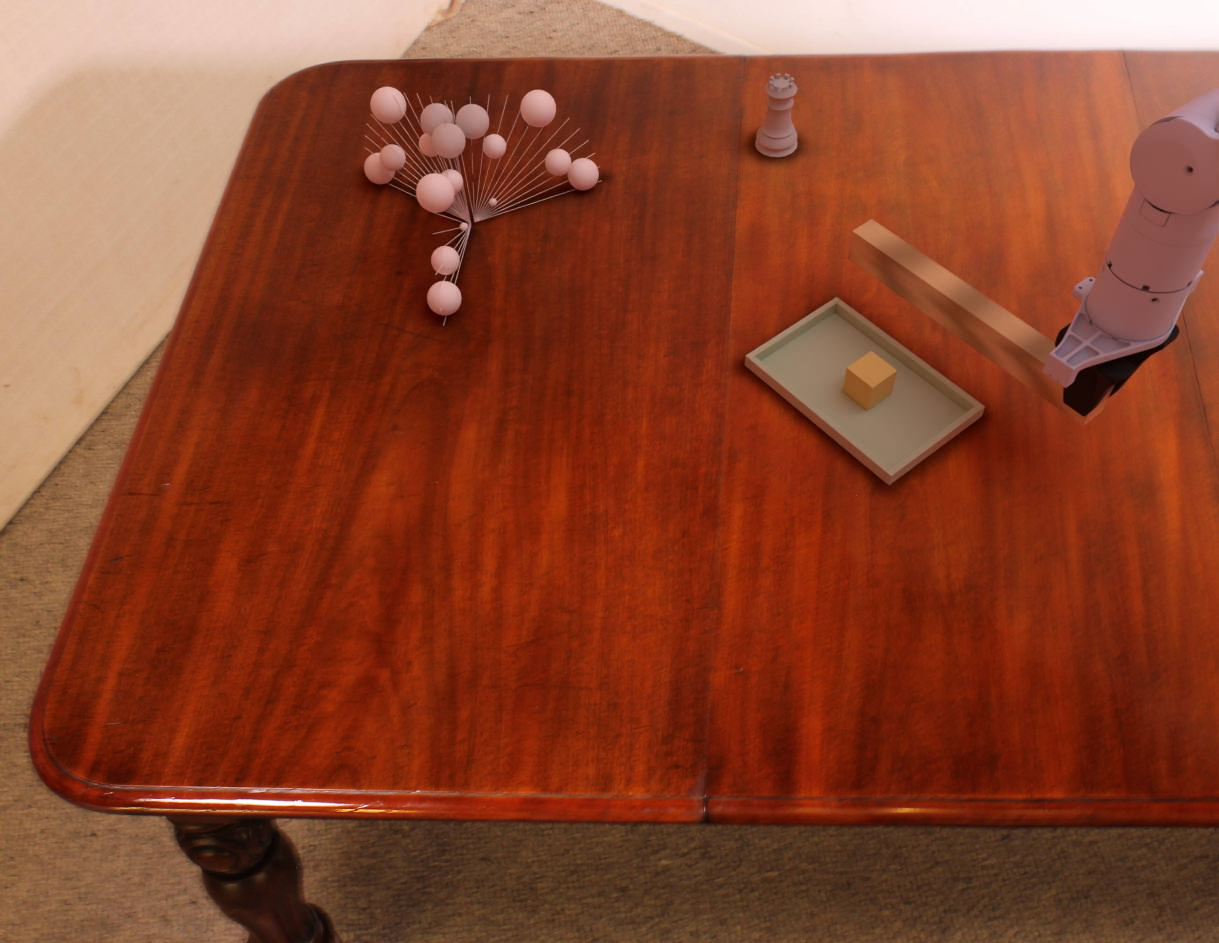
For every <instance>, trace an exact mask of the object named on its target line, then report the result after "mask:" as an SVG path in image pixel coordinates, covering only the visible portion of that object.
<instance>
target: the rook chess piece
mask: <svg viewBox="0 0 1219 943" xmlns="http://www.w3.org/2000/svg"><path fill="white" fill-rule="evenodd" d="M768 79H769V80H768V83H766V84H765V86H764V91H765V94H766V95H767V96H768V97H767V98H766V100H765V104H766V106H767V110H766V115H765V119H764V121H763V122H762V123H761V126H760V127H759V128H758V129H757V131H756V135H755V138H756V139H755V143H754V146H755V148H756V150H757V151H758V152H759V153H760V154H762V155H763V156H766V157H768V158H776V159H779V158H786V157H788V156H789V155H791V154H792V153H794V152H795V150H796V149H797V148H798V132H797V130H796V128H795V125H794V123H793V121H792V107H793V105H795V104H794V99H793V97H794V96H795V95H796V94H797V92H798V86H797V85H796V83H795V78H794V76H791V77H790V74H788V73H784V76H783V77H782V74H781V73H780V72H779V73H775V76H773V75H771V76H770V77H769V78H768Z"/></svg>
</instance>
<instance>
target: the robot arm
mask: <svg viewBox="0 0 1219 943" xmlns="http://www.w3.org/2000/svg"><path fill="white" fill-rule="evenodd" d="M1129 170H1130V174H1131V178H1132V180H1133V183H1134V186H1133V188H1132V191H1131V192H1130V195H1129V197H1128V200H1127V202H1126V204H1125V207H1124V209H1123V212H1122V214H1121V216H1120V219H1119V220H1118V223H1117V226H1116V228H1115V231H1114V233H1113V235H1112V237H1111V240H1110V242H1109V245H1108V247H1107V250H1106V253H1105V254H1104V257H1103V259H1102V262H1101V264H1100V267H1099V270H1098V271H1097V274H1096V277H1093V276H1087V277H1085V278H1083V279H1082V280H1081V281H1080V282H1078V283H1077V284H1075V285H1074V287H1073V289H1072V292H1071V296H1073V297H1074V298H1075V299H1076V300H1078V301H1079V302H1080V305H1079V307H1078V309H1077V310H1076V313H1075V315H1074V316H1073V319H1072V320H1071V322H1070V323H1068V324H1067V325H1066V326H1064V327H1063V328H1061V329H1060V330H1059V331H1058V333H1057V335H1056V338H1055V341H1054V343H1055V347H1056V348H1055V349H1054V350H1053V351H1052V352H1050V354H1049V356H1048V359H1047V361H1046V363H1045V366H1044V368H1043V371H1042V372H1043V373H1045V374H1046V375H1047V376H1049V377H1050V378H1051V379H1053V380H1054V381H1056V382H1057V383H1059V384H1060V385H1062V386H1063V403H1065V404H1066V405H1067V406H1069V407H1070V408H1072V409H1073V410H1074V411H1076V412H1077V413H1079V414H1080V415H1082V416H1084V417H1085V416H1086V415H1088V414H1089V413H1090V412H1091V411H1093V410H1094V409H1095V408H1096V407H1097V406H1098V405H1099V403H1100V402H1101V401H1102V399H1103V398H1104V396H1105V395H1106V394H1107V392H1108V391H1109V390H1110V388H1111V387H1112V386H1113V385H1115V386H1114V388H1113V390H1112V392H1111V394H1110V396H1109V398H1111V397H1112V396H1113V395H1115V394H1116V393H1117V392H1118V391H1120V389H1121V388H1123V386H1125V384H1127V382H1128V381H1129V379H1131V377H1132V376H1133V375H1134V374H1135V372H1136V371H1137V370H1138V369H1139V368H1140V367H1141V366H1142V365H1143V364H1144V363H1145V362H1147V360H1148V359H1149V358H1150V357H1151V356H1152V355H1155V354H1157V353H1158V352H1161V351H1162V350H1164V349H1165V348H1166V347H1168V346H1169V345H1170V344H1172V343H1173V342H1174V341H1176V339H1178V336H1179V335H1180V328H1179V326H1178V325H1177V321H1178V318H1179V317H1180V314H1181V312H1182V310H1183V308H1184V305H1185V303H1186V300H1187V299H1188V297H1189V296H1190V295H1191V294H1192V293H1193V292H1194V291H1195V290H1196V288H1197V286H1198V284H1199V282H1200V280H1201V279H1202V277H1203V274H1204V272H1205V271H1203V270H1202V269H1201V268H1202V267H1203V265H1204V263H1205V261H1206V259H1207V257H1208V256H1209V253H1210V251H1211V249H1212V247H1213V246H1214V244H1215V241H1217V238H1218V236H1219V86H1218V87H1214V88H1212V89H1209V90H1207V91H1205V92H1204V93H1202V94H1200V95H1198V96H1196V97H1195V98H1192V100H1189V101H1188V102H1186V103H1185V104H1183V105H1181V106H1179V107H1178V108H1176V109H1174V110H1173V111H1170V112H1169V113H1167V114H1166V115H1165V116H1162V117H1160V118H1159V119H1158V120H1156V121H1154V122H1153V123H1152V124H1150V125H1149V126H1148V127H1147V128H1145V129H1144V130H1143V131H1141V133H1140V134H1139V135H1138V136H1137V137H1136V139H1135V140H1134V142H1133V145H1132V147H1131V150H1130V155H1129Z"/></svg>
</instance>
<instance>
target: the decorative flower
mask: <svg viewBox="0 0 1219 943" xmlns="http://www.w3.org/2000/svg"><path fill="white" fill-rule="evenodd" d="M403 94H404V95H403ZM416 95H417V98H418V101H419V103H420V106H421V108H422V112H421V114H420V121H419V118H418V117H417V114H416V113H415V111H414V109H413V107H412V105H411V103H410V101H409V99H408V97H407V94H406V93H405V92H403V93H402V92H401V91H399V89H397V88H395V87H392V86H382V87H380V88H378V89H377V90H375V91H374V92H373V94H372V96H371V98H370V100H369V102H370V103H369V104H370V105H369V106H370V111H371V114H370V116H371V117H372V118H373V119H374V120H375V121H376V122H377V123H378V124H379V126H381V128H382V129H383V130H384V131H385V132H386V133H387V134H388V135H389V136H390V137H392V135H391V134H390V133H389V132H388V131H387V130H386V129H385V128H384V126H382V124H381V123H383V124H388V125H390V126H392V128H393V129H394V130H395V131H396V133H397V134H398V136H400V137H401V139H402V140H403V141H404V143H405V144H406V145H407V146H408V148H409V149H410V150H411V151H412V153H413V154H414V155H415V156H416V158H417V159H418V161H420V163H421V164H422V165H423V166H424V168H425V169H426V170H427V171H428V173H427V174H426V173H424V176H423V175H422V174H420V173H419V172H418V171H417V170H416V169H415V168H414V167H413V166H412V165H411V164H410V163H408V162H407V161H406V160H407V157H406V155H407V156H408V157H409V158H410V160H413V158H412V157H411V155H409V154H408V153H407V151H405V150H404V149H403V147H402V146H401V145H400V144H399V143H398V142H397V140H396V139H395V138H392V140H394V142H395V143H396V144H393V143H392V144H389V143H388V142H387V141H386V140H385V139H384V138H382V141H383V142H384V143H386V145H385V146H383V147H382V148H381V147H380V145H378V144H376V143H375V141H373V140H372V139H370V138H369V137H368V136H367V135H366V134H364V136H365V137H366V138H367V139H368V140H370V141H371V142H372V143H373V144H374V145H375V146H377V147H378V148H379V149H380V152H372V151H371V150H370V149H368V148H366V147H364V149H365V150H367V151H368V152H370V153H371V154H369V156H368V157H367V158H366V159H365V161H364V163H363V170H364V171H363V172H364V174H365V176H366V178H367V179H368V180H369V181H370V182H371V183H373V184H376V185H385V184H388V185H390V186H392V187H394V188H396V189H398V190H400V191H403V192H405V193H406V194H409V195H411V196H412V197H415V198H416V200H417V202H418V204H419V205H420V207H421V208H423V209H424V210H426V211H427V212H430V213H432V214H435V215H439V216H441V217H444V218H447V219H451V220H453V221H456V222H459V223H460V224H459V227H456V228H452V229H449V230H447V229H446V230H442V231H438V232H433V233H432V235H436V234H440V233H445V232H449V231H453V230H458V229H460V231H461V232H460V233H458V234H457V235H456V236H455V237H453V239H451V240H450V241H449V242H447V243H446V244H445V245H442V246H438V247H436V249H434V251H433V252H432V254H431V256H430V264H431V266H432V269H433V270H434V271H435V272H436V273H435V274H434V275H435V276H437V274H440V275H442V276H445V277H444V279H443V280H440V281H437V282H435V283H433V284H432V285H431V286H430V288H428V291H427V295H426V301H427V305H428V307H429V308H430V309H431V311H432V312H434V313H435V314H437V315H438V316H439V315H440V316H445V317H444V321H443V324H442V326H445V323H446V320H447V316H451V315H452V314H453V315H454V313H456V312H457V311H458V310H459V309H460V306H461V304H462V293H461V290H460V289H459V287H458V286H457V285H456V283H457V279H458V275H459V272H460V268H461V265H462V260H463V257H464V253H465V250H466V247H467V243H468V240H469V235H470V232H471V228H472V221H471V216H470V212H469V207H468V202H467V196H466V192H465V186H464V179H463V178H464V177H463V176H462V172H461V166H460V161H459V156H460V155H461V160H462V165H463V171H464V174H465V175H464V176H465V180H466V186H467V190H468V196H469V197H471V194H470V189H469V184H468V178H467V174H466V169H465V163H464V159H463V152H464V150H465V148H466V142H467V141H466V139H469V140H470V143H471V144H473V140H478V139H479V138H482V137H483V142H482V151H481V157H484V156H483V154H485V156H487V157H488V158H489V164H488V167H487V172H486V175H485V178H484V179H485V180H484V183H483V188H482V191H481V194H480V199H479V202H475V189H474V183H472V196H473V198H472V199H473V201H472V200H471V198H469V202H470V205H471V206H470V207H471V212H472V216H473V222H474V223H477V222H480V221H483V220H486V219H489V218H492V217H496V216H499V215H502V214H504V213H508V212H511V211H515V210H517V209H520V208H524V207H526V206H529V205H533V204H535V203H538V202H542V201H545V200H548V199H551V198H554V197H557V196H561V195H563V194H566V193H570V192H572V191H576V190H579V191H587V190H590V189H592V188H593V187H595V186H596V184H598V183H600V182H601V180H599V176H600V175H599V168H600V166H597V164H596V163H595V162H594V161H592V160H591V159H589V158H590V157H592V156H593V155H595V154H596V152H594V153H592V154H591V155H588V156H587V157H580V158H576V159H575V160H573V161H572V158H571V156H570V155H571V154H572V153H573V152H575V151H577V150H578V149H579V148H581V147H582V146H584V145H585V144H587V143H588V142H589V141H590V140H589V139H588V140H586V141H585V142H583V144H581V145H580V146H578V147H577V148H575V149H574V150H573V151H571V152H567V151H566V150H564V149H562V148H560V147H561V146H562V145H563V144H565V143H566V142H567V141H568V140H569V139H571V137H572V136H574V135H575V134H576V133H577V132H578V131H579V130H580V129H581V128H580V127H579V128H578V129H577V130H576V131H574V133H573V134H572V135H570V136H569V137H568V138H567V139H566V140H565V141H563V143H561V144H560V145H559V146H558V147H556V148H554V149H552V150H550V151H548V153H547V154H546V155H545V158H544V160H542V161H541V162H540V163H539V164H538V165H537V166H536V167H534V168H533V169H532V170H531V171H530V172H529V173H527V175H525V176H524V177H523V178H522V179H520V180H519V182H518V183H516V184H515V185H514V186H513V187H512V188H511V189H509V191H507V193H505V194H504V195H503V196H502V197H500V196H501V195H502V194H503V193H504V191H505V190H506V189H507V187H504V189H503V190H502V191H501V192H500V193H499V194H498V195H497V197H500V199H498V201H497V198H496V197H495V195H496V194H497V192H498V191H499V189H500V188H502V185H503V184H504V183H505V181H506V180H507V179H508V177H509V176H510V174H511V173H512V172H513V170H514V169H515V167H516V166H517V165H518V163H520V161H521V160H522V158H523V156H524V155H525V153H526V152H527V151H528V150H529V148H530V147H531V146H532V144H533V143H534V141H535V140H536V139H537V137H538V136H539V134H540V133H541V132H542V130H543V129H544V127H547V126H548V125H550V124H551V123H552V122H553V120H554V119H555V116H556V114H557V104H556V101H555V98H553V96H552V95H551V93H549V92H547V91H546V90H543V89H534V90H530V91H528V92H527V93H526V94H525V95H524V96H523V98H522V100H521V101H520V107H519V111H518V113H517V115H516V118H515V121H514V123H513V126H512V128H511V130H510V132H509V136H508V138H507V141H506V140H505V138H504V137H502V136H501V135H499V131H500V128H501V124H502V120H503V117H504V116H503V115H504V112H505V108H506V104H507V102H508V101H507V100H508V97H509V94H507V95H506V98H505V103H504V107H503V111H502V114H501V117H500V118H501V119H500V122H499V126H498V129H497V133H491V134H489V135H487V136H486V133H487V131H488V130H489V127H490V117H489V112H488V111H489V106H487V108H486V109H484V108H483V107H482V106H480V105H479V104H475V103H472V101H471V100H472V99H471V96H469V104H465V105H464V106H462V107H461V108H460V109H459V110H458V111H457V113H456V116H455V111H454V106H453V101H452V100H450V103H451V108H452V109H450V108H449V105H448V104H447V103H446V101H444V104H443V103H439V102H435V103H433V99H432V96H431V95H429V98H430V102H431V104H428V105H427V106H425V107H423V104H422V102H421V99H420V97H419V95H418V93H417V92H416ZM488 96H490V94H488ZM405 98H406V99H407V101H406V99H405ZM407 102H408V105H409V106H410V108H411V111H412V112H413V114H414V116H415V118H416V120H417V122H418V124H419V126H420V128H421V130H422V132H423V134H422V135H421V136H419V135H418V133H417V132H416V129H415V128H414V127H413V125H412V122H410V120H409V118H408V117H407V115H406V112H407ZM489 103H490V98H488V101H487V105H489ZM451 110H452V111H451ZM520 114H521V117H522V119H523V120H524V122H525V123H527V124H528V125H527V127H526V129H525V131H524V132H523V134H522V135H521V138H520V139H519V142H518V143H517V145H516V147H515V149H514V150H513V152H512V154H511V155H510V157H509V159H508V160H507V163H506V164H505V166H504V168H503V169H502V171H501V173H500V176H499V177H498V179H497V181H496V182H495V184H494V186H493V187H492V190H491V191H490V193H489V195H488V196H487V194H488V191H489V188H490V186H491V183H492V181H493V179H494V176H495V175H496V172H497V169H498V166H499V164H500V161H501V159H502V157H503V156H504V155H505V154H506V151H507V145H508V142H509V141H510V140H509V139H510V137H511V135H512V132H513V129H514V127H515V125H516V123H517V120H518V118H519V116H520ZM404 116H405V118H406V120H407V121H408V123H409V125H410V126H411V128H412V129H413V131H414V133H415V134H416V136H417V138H418V146H417V144H416V143H415V141H414V140H413V139H412V137H411V136H410V134H409V133H408V131H407V130H406V128H405V127H404V125H403V124H402V123H401V120H402V119H403V118H404ZM568 120H570V117H568V118H567V120H565V121H564V123H563V124H561V126H560V127H559V128H558V129H557V131H556V132H554V134H552V136H551V137H550V138H549V139H548V140H547V142H546V143H545V144H544V145H542V147H541V148H540V149H539V150H538V151H537V153H536V154H534V156H533V157H532V158H531V159H530V160H529V161H528V162H527V164H526V165H525V166H523V168H522V169H520V171H519V172H518V173H517V175H515V177H514V178H513V179H512V180H510V182H509V183H508V184H507V186H509V185H510V184H512V183H513V181H514V179H516V178H517V177H518V175H520V173H522V171H523V170H524V169H525V168H526V167H527V166H528V164H530V162H531V161H532V160H533V159H534V158H535V157H536V156H537V155H538V153H540V151H541V150H542V149H543V148H544V147H545V146H546V145H547V143H548V142H549V141H550V140H551V139H552V138H553V137H554V136H555V135H556V134H557V133H558V131H559V130H560V129H561V128H562V127H563V126H564V125H565V124H566V123H567V122H568ZM395 123H399V124H400V126H401V127H402V129H403V130H404V131H405V133H407V135H408V137H409V138H410V140H411V141H412V143H413V144H414V145H415V147H416V148H417V150H418V151H419V152H420V154H421V155H422V157H423V159H424V160H425V161H426V162H427V164H428V166H429V167H430V169H432V172H433V173H432V172H431V171H429V169H428V168H427V167H426V166H425V164H424V163H423V161H421V159H420V158H419V157H418V156H417V154H416V152H414V151H413V149H412V148H411V147H410V146H409V144H408V143H407V141H405V139H404V138H403V136H401V134H400V133H399V131H397V129H396V128H395V127H394V126H393V125H392V124H395ZM366 126H368V127H369V128H370V129H371V130H372V131H374V133H375V134H376V135H377V136H379V133H377V132H376V131H375V130H374V129H373V128H372V127H371V126H370V125H369V124H368V123H366ZM529 126H530V127H533V128H541V129H540V130H539V132H538V133H537V134H536V136H535V137H534V139H533V140H532V141H531V143H530V144H529V146H528V147H527V148H526V149H525V152H523V154H522V155H521V157H520V158H519V159H518V161H517V163H516V164H515V165H514V167H513V168H512V169H511V171H509V173H508V174H507V176H506V178H505V179H504V180H503V182H501V184H500V186H499V187H498V188H497V190H496V191H495V193H494V194H493V195H492V197H491V194H492V193H493V191H494V189H495V188H496V186H497V183H498V182H499V180H500V178H501V176H502V174H504V172H505V169H506V168H507V167H508V166H507V165H508V164H509V163H510V160H511V159H512V157H513V155H514V153H515V151H516V150H517V148H518V146H519V144H520V142H521V141H522V139H523V137H524V136H525V134H526V132H527V130H528V128H529ZM473 155H474V154H471V168H472V170H471V171H472V173H474V161H473V160H474V159H473V158H474V156H473ZM426 157H429V158H430V159H431V161H432V163H433V164H434V166H435V168H436V170H434V168H433V167H432V166H431V165H430V163H429V161H428V160H427V159H426ZM433 157H436V160H437V161H438V163H439V166H440V168H441V169H442V172H440V170H439V168H438V167H437V165H436V163H435V162H434V160H433V159H432V158H433ZM438 157H439V158H438ZM439 159H440V160H439ZM445 159H447V160H448V162H449V166H450V168H448V165H447V163H446V161H445ZM451 159H453V161H454V166H455V169H454V167H453V164H452V161H451ZM492 159H493V160H497V159H499V160H498V163H497V165H496V167H495V170H494V172H493V175H492V178H491V180H490V181H489V184H488V187H487V190H486V192H485V195H484V197H483V193H484V189H485V184H486V181H487V178H488V174H489V169H490V166H491V162H492ZM440 161H441V162H440ZM482 162H483V158H481V160H480V165H482V164H483V163H482ZM406 163H407V165H408V166H409V167H411V168H412V169H413V170H414V171H415V172H416V173H417V174H418V175H419V176H420V177H421V178H419V179H418V178H417V177H416V176H415V175H414V174H412V173H411V172H410V171H409V170H408V169H406V168H405V167H404V166H405V164H406ZM413 163H414V164H416V166H417V167H418V168H419V169H420V170H421V172H424V170H423V169H422V168H421V167H420V166H419V164H418V163H416V161H413ZM441 163H442V164H441ZM543 163H544V166H545V169H546V170H545V171H543V172H542V173H541V174H539V175H538V176H536V177H535V178H533V179H532V180H531V181H529V182H528V183H526V184H525V185H524V186H522V187H521V188H519V189H518V190H517V191H515V192H513V194H511V195H510V196H508V197H506V198H505V199H504V200H503V201H501V202H500V200H502V199H503V198H504V197H505V196H506V195H507V194H509V192H511V191H512V190H513V189H514V188H516V187H517V186H518V184H521V182H523V180H524V179H525V178H527V176H529V175H530V174H531V173H532V172H534V170H536V168H538V167H539V166H540V165H542V164H543ZM401 169H404V170H406V171H407V172H408V174H410V175H412V177H414V178H415V179H416V180H417V181H418V182H417V183H416V182H415V181H413V180H411V179H410V178H409V177H407V176H406V175H405V174H403V173H402V172H400V170H401ZM479 170H480V171H479V174H481V173H482V167H480V169H479ZM396 172H398V173H399V174H401V175H402V176H404V178H406V179H408V180H409V181H411V182H412V183H413V184H415V185H416V189H415V188H414V187H412V186H410V185H408V184H406V183H405V182H404V181H402V180H400V179H398V178H396V177H395V174H396ZM547 172H548V173H549V174H550V175H553V176H552V177H550V178H548V179H546V180H545V181H543V182H542V183H540V184H538V185H536V186H535V187H533V188H531V189H529V190H527V191H526V192H524V193H522V194H521V195H519V196H517V197H515V198H514V199H512V200H510V201H508V202H507V203H505V204H503V205H501V204H502V203H504V202H505V201H507V200H508V199H509V198H511V197H512V196H514V195H515V194H516V193H518V192H519V191H521V190H522V189H523V188H525V187H527V186H528V185H529V184H530V183H532V182H533V181H535V180H536V179H537V178H538V177H539V178H540V176H541V175H543V174H545V173H547ZM566 174H567V180H566V181H564V182H561V183H558V184H556V185H554V186H553V187H550V188H548V189H545V190H543V191H541V192H538V193H537V194H535V195H533V196H529V197H528V198H525V199H523V200H520V201H518V202H516V203H514V204H511V205H509V206H506V205H508V204H509V203H511V202H513V201H515V200H516V199H518V198H520V197H522V196H524V195H525V194H527V193H529V192H531V191H532V190H534V189H535V188H537V187H540V186H541V185H543V184H544V183H546V182H548V181H550V180H551V179H553V178H555V177H562V176H564V175H566ZM393 178H394V179H395V180H398V181H399V182H400V183H402V184H404V185H405V186H407V187H410V188H411V189H412V190H414V191H415V195H414V194H412V193H410V192H407V191H405V190H403V189H402V188H399V187H397V186H395V185H393V184H391V183H390V182H391V181H392V179H393ZM480 180H481V176H479V178H478V183H480ZM568 182H569V184H570V185H571V186H572V187H573V189H571V190H568V191H565V192H561V193H559V194H555V195H553V196H549V197H547V198H543V199H540V200H537V201H534V202H531V203H529V204H524V205H521V206H519V207H516V208H513V209H509V210H506V209H508V208H511V207H512V206H516V205H517V204H520V203H521V202H524V201H527V200H528V199H531V198H532V197H533V198H534V197H535V196H537V195H540V194H542V193H545V192H547V191H548V190H551V189H554V188H555V187H558V186H560V185H563V184H565V183H568ZM477 191H480V184H478V187H477ZM461 192H462V194H461ZM462 195H463V197H462ZM486 196H487V198H486ZM482 197H483V199H482ZM490 197H491V198H490ZM478 198H479V193H477V195H476V200H478ZM485 198H486V201H485ZM481 200H482V202H481ZM488 200H489V201H488ZM484 201H485V202H484ZM472 202H475V209H476V210H474V208H473V204H472ZM487 202H488V203H487ZM498 202H500V203H499V204H498ZM483 203H484V204H483ZM486 203H487V204H486ZM480 204H481V205H480ZM482 205H483V206H482ZM500 205H501V206H500ZM498 206H499V207H498ZM504 206H506V207H505V208H503V209H500V208H502V207H504ZM489 207H491V209H490V208H489ZM499 209H500V210H499ZM497 210H498V211H497ZM503 210H506V211H503ZM502 211H503V212H502ZM442 212H447V213H449V214H450V215H453V216H455V217H457V218H459V219H460V220H459V219H455V218H453V217H452V218H451V217H449V216H446V215H442V214H440V213H442ZM499 212H500V213H499ZM461 219H462V220H464V221H465V222H463V221H461ZM462 233H464V234H463V235H462V237H461V238H460V240H459V241H458V242H457V244H455V246H454V247H451V246H448V245H449V244H450V243H452V242H453V241H454V240H455V239H456V238H458V237H459V236H460V235H461V234H462ZM462 239H463V240H462ZM461 241H462V242H461ZM460 242H461V245H460V246H459V248H458V250H456V248H457V246H458V245H459V244H460ZM462 245H463V246H462ZM461 247H462V248H461ZM460 250H461V252H460V254H459V251H460ZM460 258H461V259H460ZM456 271H457V274H456V277H455V281H454V283H453V282H452V280H453V278H454V275H455V272H456ZM449 275H452V276H451V278H450V281H447V280H446V278H447V276H449Z"/></svg>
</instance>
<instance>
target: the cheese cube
mask: <svg viewBox="0 0 1219 943" xmlns="http://www.w3.org/2000/svg"><path fill="white" fill-rule="evenodd" d="M896 374H897V370H896V369H895V368H893V367H892V366H891V365H889V364H888V363H887V362H886V361H884V360H883V359H882V358H880V357H879V356H878V355H876V354H875V353H874V352H872V351H871V352H869V353H868V354H866V355H865V356H863V357H862V358H860V359H859V360H857V361H856V362H854V363H853V364H851V365H850V366H848V367H847V369H846V374H845V379H844V385H843V390H842V391H843V392H844V393H846V394H847V395H848V396H849V397H851V398H852V399H853V400H854V401H856V402H857V403H858V404H859V405H861V406H862V407H863V408H865V409H866V410H867V411H868V410H869V409H871V408H872V407H874V406H875V405H877V404H878V403H879V402H881V401H882V400H884V399H885V398H886V397H888V396H889V395H891V394H892V391H893V387H894V383H895V379H896Z"/></svg>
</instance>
